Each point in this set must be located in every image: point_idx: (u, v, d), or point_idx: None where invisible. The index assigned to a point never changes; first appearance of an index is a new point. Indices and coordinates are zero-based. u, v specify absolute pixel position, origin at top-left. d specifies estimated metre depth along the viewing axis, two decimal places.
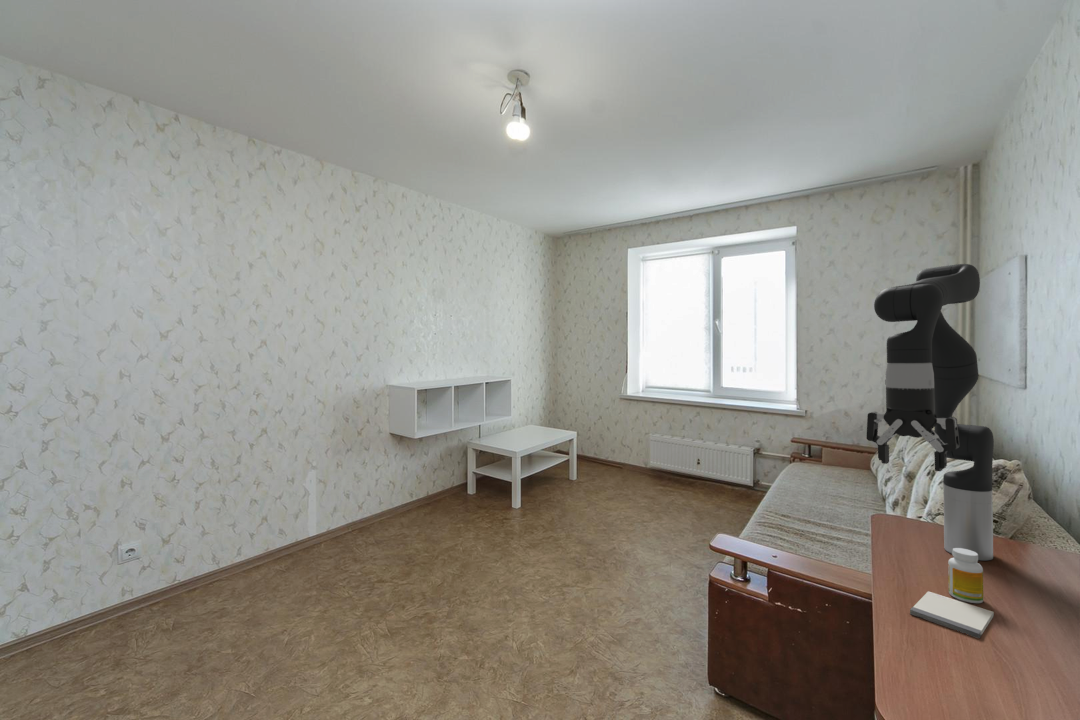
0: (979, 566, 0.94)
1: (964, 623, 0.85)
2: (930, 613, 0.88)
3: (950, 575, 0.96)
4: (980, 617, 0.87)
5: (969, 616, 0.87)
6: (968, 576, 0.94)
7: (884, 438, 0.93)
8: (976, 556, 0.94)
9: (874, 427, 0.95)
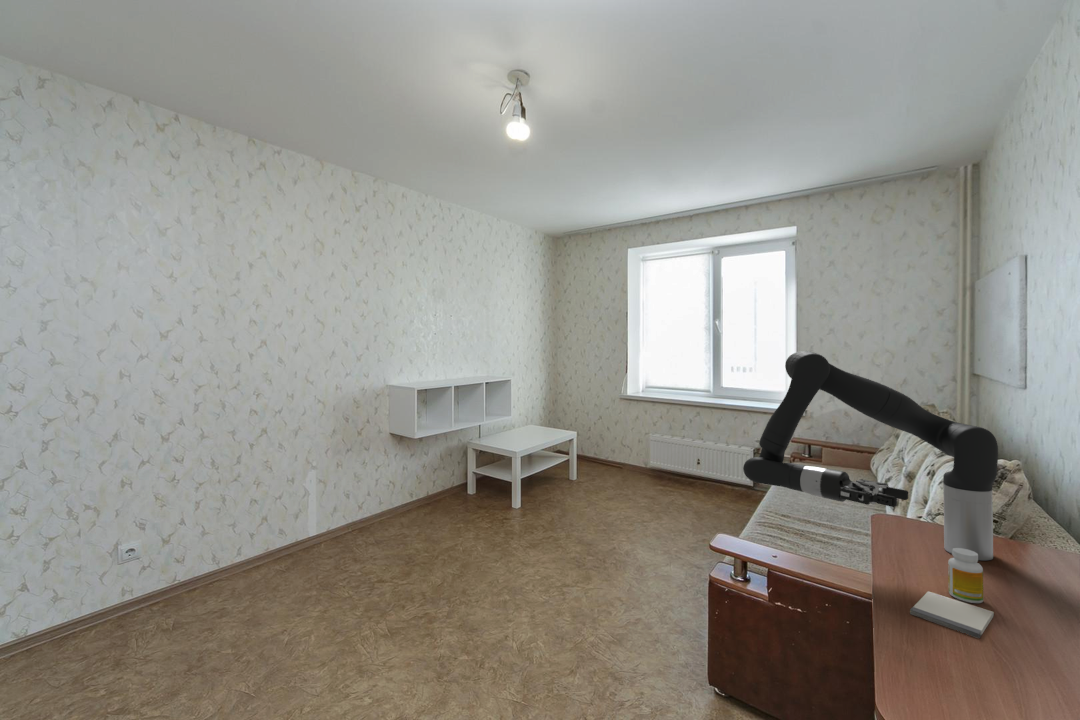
0: (979, 566, 0.94)
1: (964, 623, 0.85)
2: (930, 613, 0.88)
3: (950, 575, 0.96)
4: (980, 617, 0.87)
5: (969, 616, 0.87)
6: (968, 576, 0.94)
7: None
8: (976, 556, 0.94)
9: None
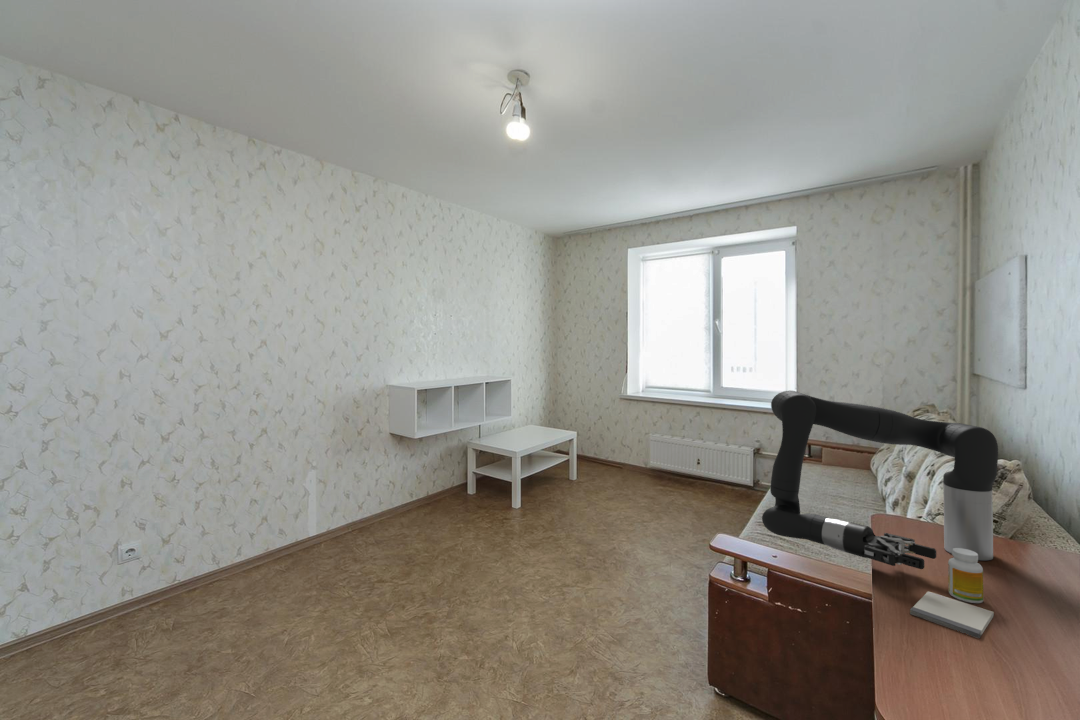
0: (979, 566, 0.94)
1: (964, 623, 0.85)
2: (930, 613, 0.88)
3: (950, 575, 0.96)
4: (980, 617, 0.87)
5: (969, 616, 0.87)
6: (968, 576, 0.94)
7: None
8: (976, 556, 0.94)
9: None
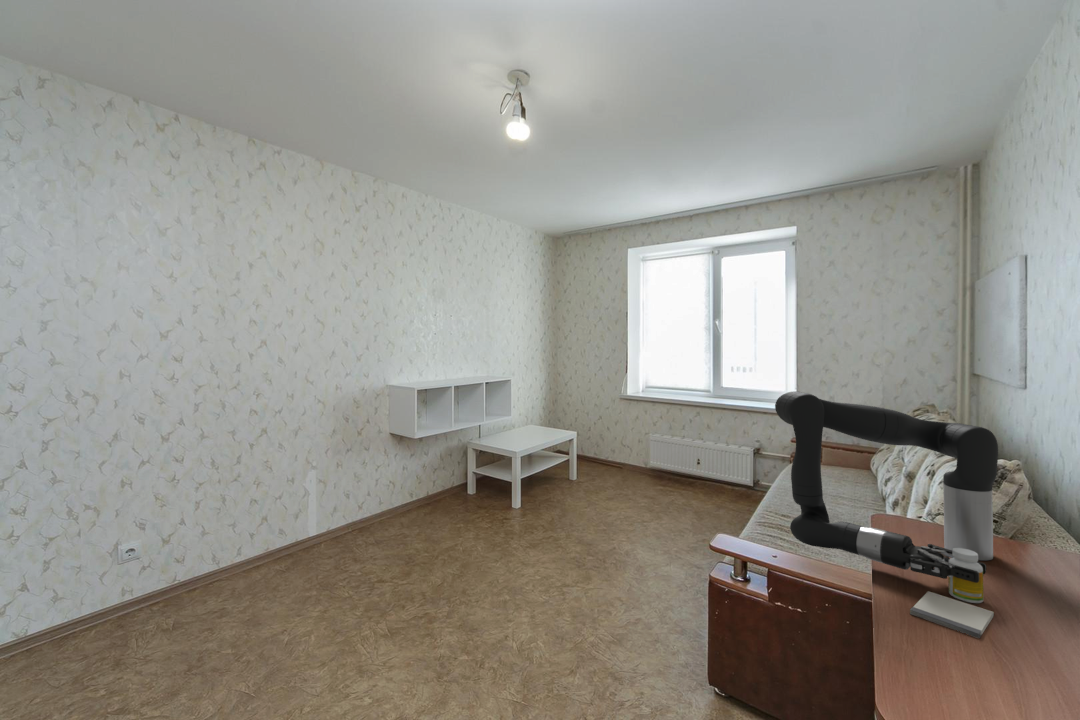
0: (979, 566, 0.94)
1: (964, 623, 0.85)
2: (930, 613, 0.88)
3: None
4: (980, 617, 0.87)
5: (969, 616, 0.87)
6: None
7: None
8: (976, 556, 0.94)
9: (942, 557, 1.03)
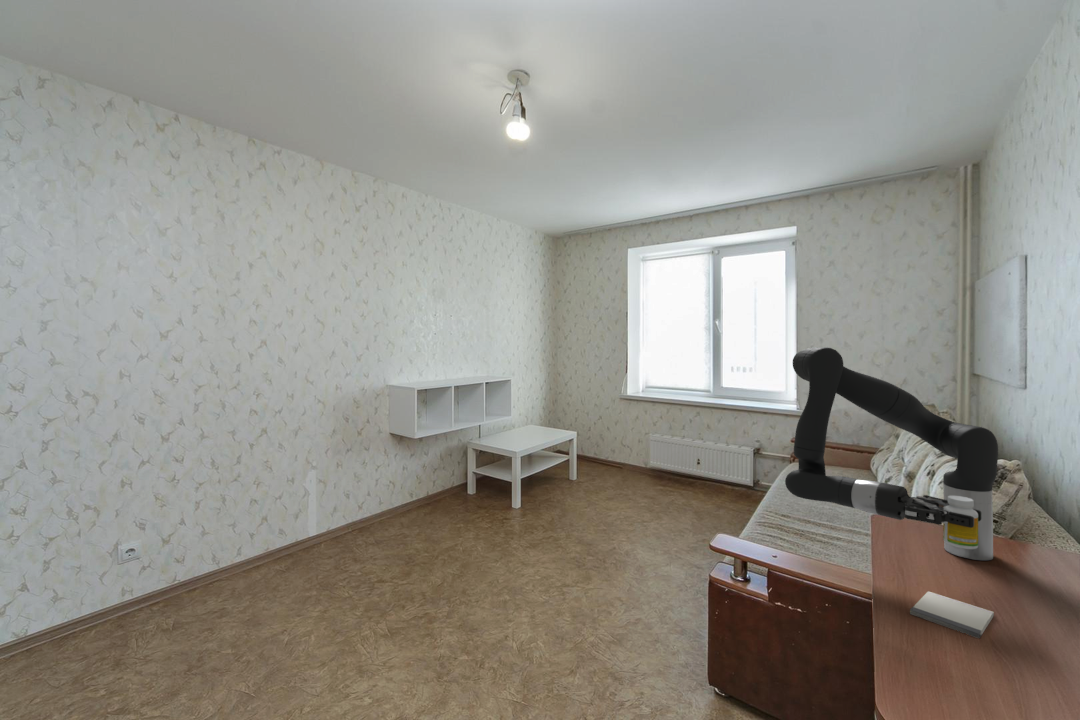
0: (974, 512, 0.93)
1: (964, 623, 0.85)
2: (930, 613, 0.88)
3: None
4: (980, 617, 0.87)
5: (969, 616, 0.87)
6: None
7: None
8: (971, 502, 0.93)
9: None
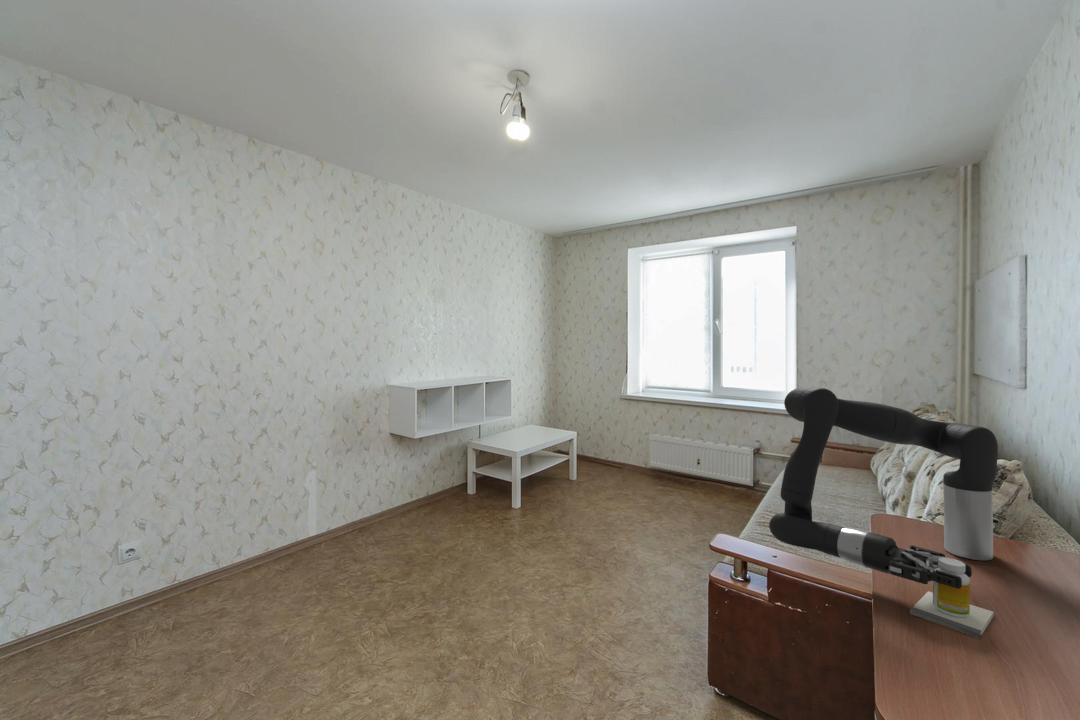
0: (966, 577, 0.87)
1: (964, 623, 0.85)
2: (930, 613, 0.88)
3: (935, 586, 0.90)
4: (980, 617, 0.87)
5: (969, 616, 0.87)
6: (954, 588, 0.87)
7: None
8: (963, 567, 0.88)
9: None
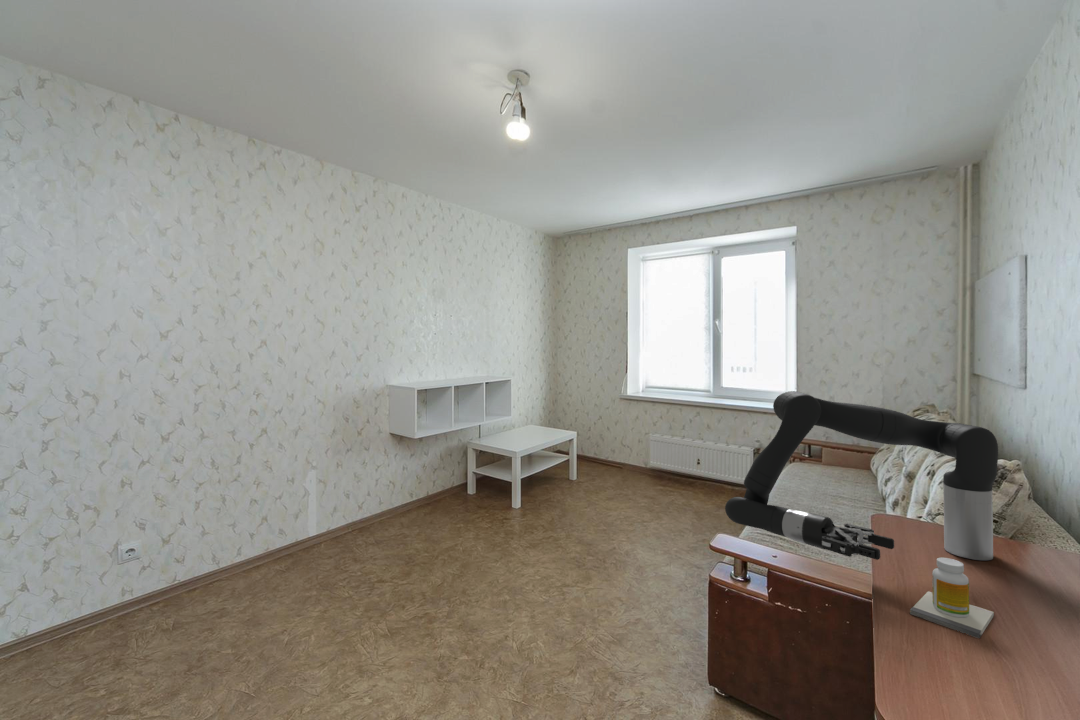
0: (965, 577, 0.88)
1: (964, 623, 0.85)
2: (930, 613, 0.88)
3: (934, 587, 0.90)
4: (980, 617, 0.87)
5: (969, 616, 0.87)
6: (953, 588, 0.87)
7: None
8: (961, 567, 0.88)
9: None
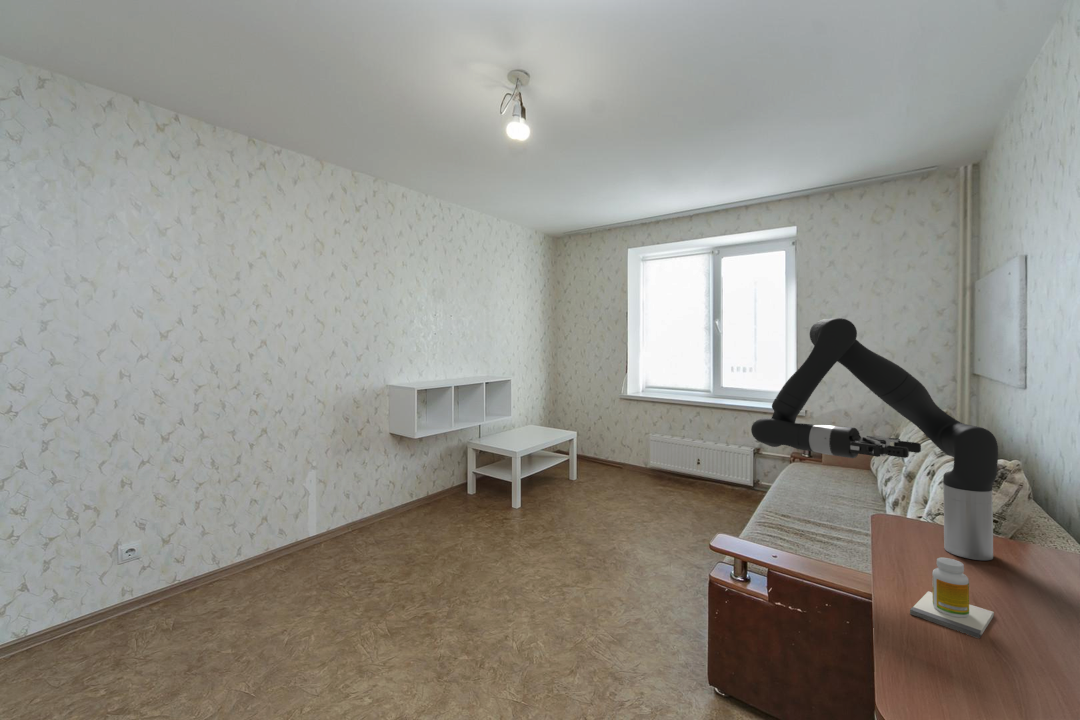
0: (965, 577, 0.88)
1: (964, 623, 0.85)
2: (930, 613, 0.88)
3: (934, 587, 0.90)
4: (980, 617, 0.87)
5: (969, 616, 0.87)
6: (953, 588, 0.87)
7: None
8: (961, 567, 0.88)
9: None
